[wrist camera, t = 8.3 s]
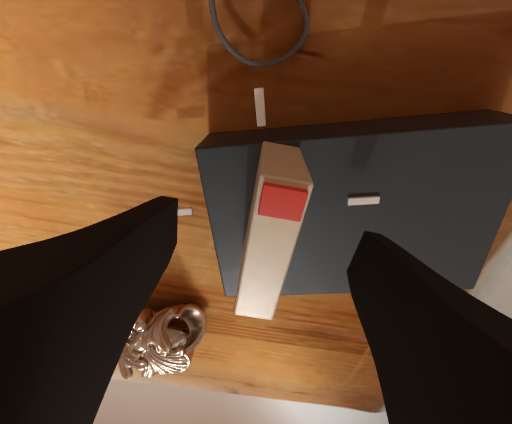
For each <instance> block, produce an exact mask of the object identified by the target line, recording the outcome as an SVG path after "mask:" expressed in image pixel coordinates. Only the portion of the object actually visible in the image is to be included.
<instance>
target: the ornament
mask: <svg viewBox="0 0 512 424" xmlns="http://www.w3.org/2000/svg"><path fill="white" fill-rule="evenodd" d="M176 318H177V319H181V320H183V321H185V322H186V323H187V325H188V327H189V329H188V328H182V327H174V326H169V325H168V324H169V323H170V322H171V321H172V320H173V319H176ZM206 324H207V320H206V316H205V313H204V311H203V309H202V308H201V307H200V306H198V305H196V304H193V303H190V304H186V305H185V304H178V305H174V306H171V307H167V308H164V309H162V310H160V311H158V312H157V313H156V314H154V315H153V311H152V310H151V309H147V308H146V309H143V310H142V312H141V314H140V315H139V317H138V319H137V321H136V323H135V325H134V327H133V329H132V331H131V334H130V336H129V338H128V340H127V343H126V345H125V347H124V349H123V352H122V354H121V356H120V358H119V361H118V363H119V368H120V371H121V374H122V376H123V378H125V379H130V378H131V377H132V375H133V371H132V367H134V368H136V369H138V370H144V371H143V372H142V374H141V377H146V378H149V377H152V376H154V375H156V374H157V373H159V374H161V375H166V374H176V373H179V372H182V371H184V370H186V369H188V368H189V366H190V363H191V360H192V357H193V354H194V349H195V347H196V346H197V345H198V344H199V343H200V341H201V339H202V337H203V335H204V333H205V330H206ZM143 353H144V357H141V354H143Z"/></svg>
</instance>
